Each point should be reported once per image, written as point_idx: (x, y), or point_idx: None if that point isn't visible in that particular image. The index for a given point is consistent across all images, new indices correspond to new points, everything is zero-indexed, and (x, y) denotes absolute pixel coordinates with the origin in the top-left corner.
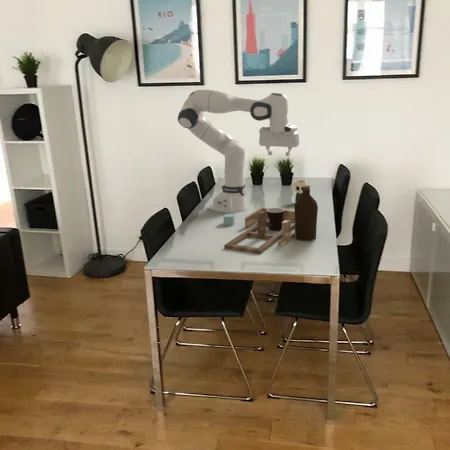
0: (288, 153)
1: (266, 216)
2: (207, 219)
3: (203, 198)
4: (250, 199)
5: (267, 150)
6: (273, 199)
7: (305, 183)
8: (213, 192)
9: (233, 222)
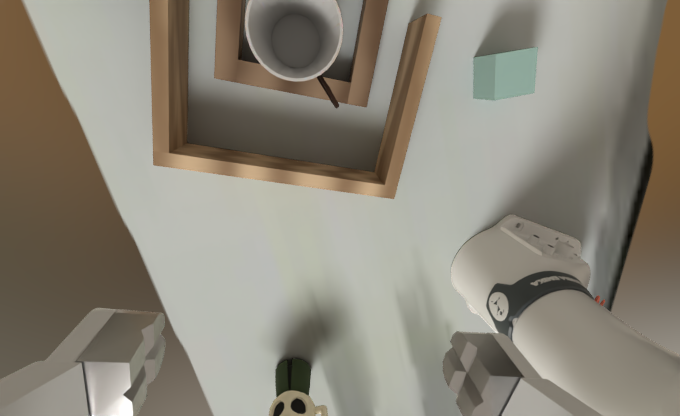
0: (61, 344)
1: (364, 173)
2: (577, 123)
3: None
4: None
5: (572, 397)
6: (386, 377)
7: None
8: None
9: (480, 64)
